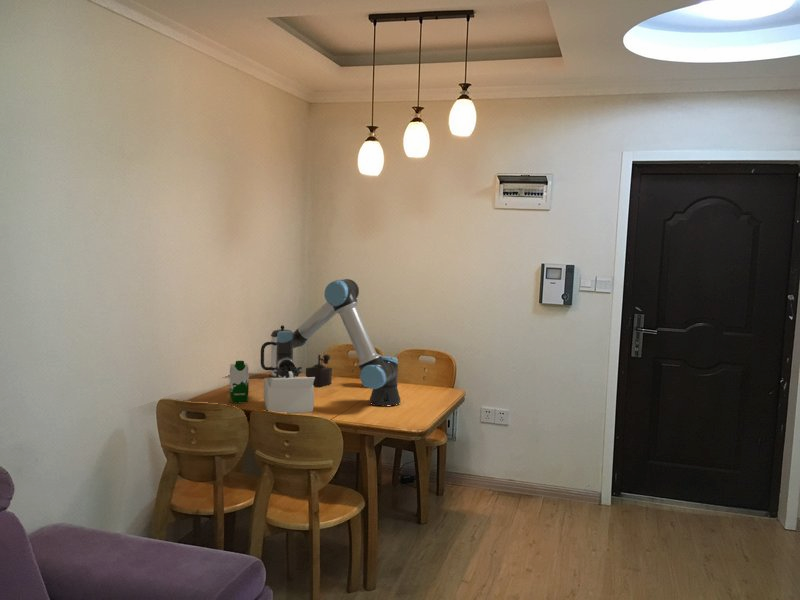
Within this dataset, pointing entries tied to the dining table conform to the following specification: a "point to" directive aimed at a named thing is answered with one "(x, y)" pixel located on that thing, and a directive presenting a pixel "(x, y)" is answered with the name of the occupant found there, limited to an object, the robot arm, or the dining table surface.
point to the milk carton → (239, 382)
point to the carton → (288, 398)
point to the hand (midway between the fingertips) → (291, 377)
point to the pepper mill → (320, 372)
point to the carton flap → (292, 382)
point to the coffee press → (272, 352)
